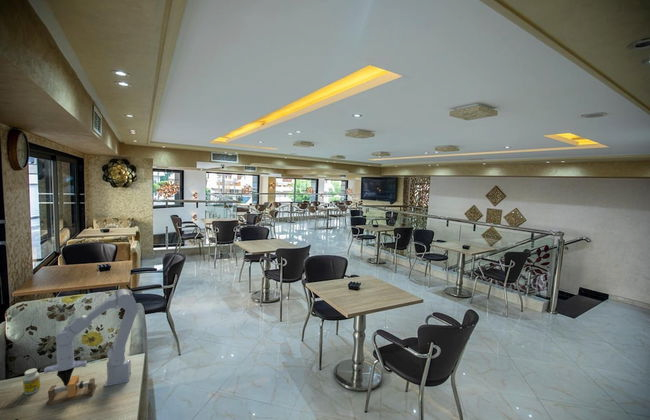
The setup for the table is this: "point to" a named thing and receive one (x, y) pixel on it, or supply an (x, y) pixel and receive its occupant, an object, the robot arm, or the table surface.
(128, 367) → the robot arm
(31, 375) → the supplement bottle
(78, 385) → the rod
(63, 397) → the stand
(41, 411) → the table surface
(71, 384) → the collar
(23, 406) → the table surface
